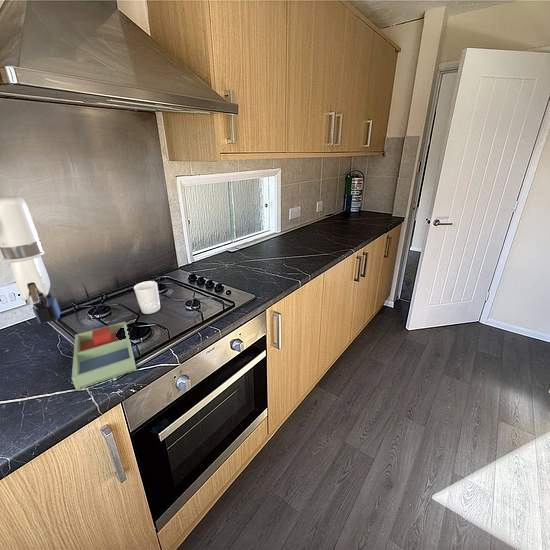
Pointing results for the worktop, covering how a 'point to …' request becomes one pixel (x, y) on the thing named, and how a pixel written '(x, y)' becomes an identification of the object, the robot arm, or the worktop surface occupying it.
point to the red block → (101, 336)
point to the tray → (101, 358)
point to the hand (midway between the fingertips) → (49, 316)
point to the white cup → (147, 296)
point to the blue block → (54, 305)
